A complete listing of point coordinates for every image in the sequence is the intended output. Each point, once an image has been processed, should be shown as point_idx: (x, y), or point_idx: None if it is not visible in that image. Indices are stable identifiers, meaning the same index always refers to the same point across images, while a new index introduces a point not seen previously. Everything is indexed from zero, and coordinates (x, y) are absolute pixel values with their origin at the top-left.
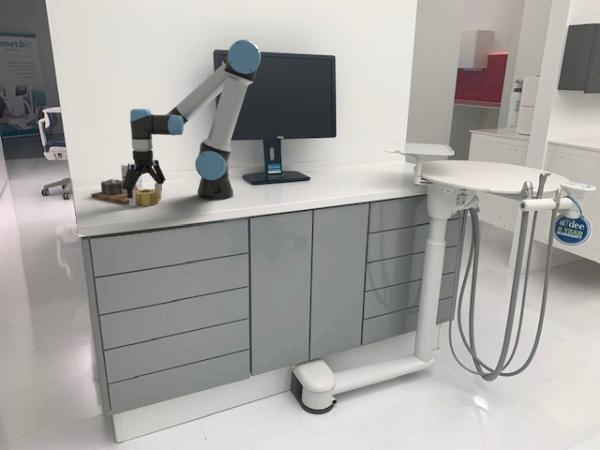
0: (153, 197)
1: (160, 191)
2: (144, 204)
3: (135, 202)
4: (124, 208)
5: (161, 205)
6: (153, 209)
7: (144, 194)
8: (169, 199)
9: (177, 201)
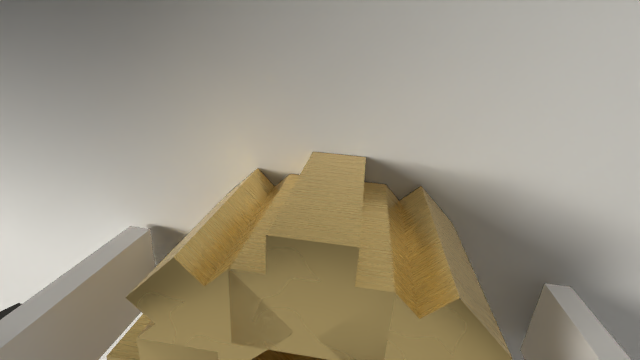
0: (339, 200)
1: (54, 291)
2: (455, 233)
3: (573, 322)
4: None
5: (301, 66)
6: (542, 10)
7: (493, 335)
8: (54, 171)
9: (33, 18)
